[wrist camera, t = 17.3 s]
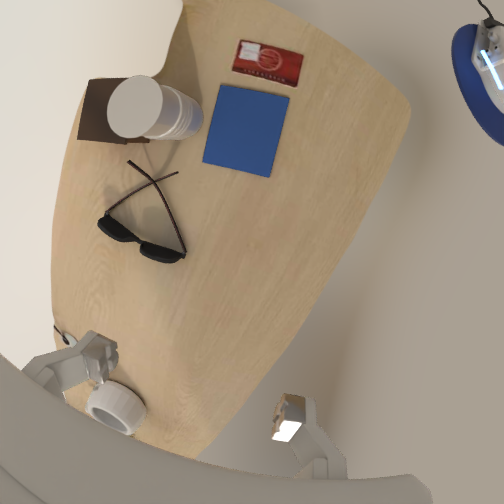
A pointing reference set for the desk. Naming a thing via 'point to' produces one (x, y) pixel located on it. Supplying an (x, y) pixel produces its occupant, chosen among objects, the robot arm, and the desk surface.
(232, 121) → the cloth
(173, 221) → the sunglasses
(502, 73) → the robot arm
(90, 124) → the box
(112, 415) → the white plant pot
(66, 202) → the desk surface
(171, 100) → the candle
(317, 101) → the desk surface
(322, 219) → the desk surface
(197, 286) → the desk surface
